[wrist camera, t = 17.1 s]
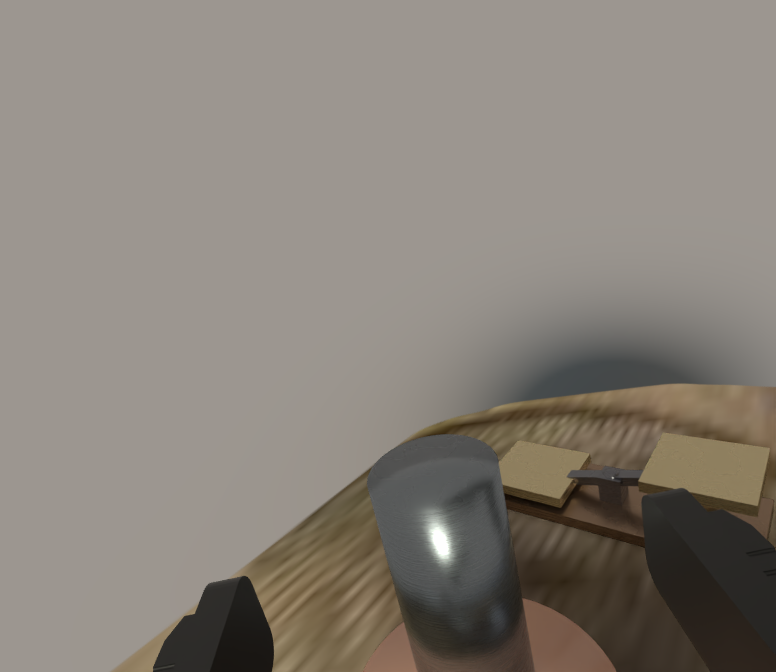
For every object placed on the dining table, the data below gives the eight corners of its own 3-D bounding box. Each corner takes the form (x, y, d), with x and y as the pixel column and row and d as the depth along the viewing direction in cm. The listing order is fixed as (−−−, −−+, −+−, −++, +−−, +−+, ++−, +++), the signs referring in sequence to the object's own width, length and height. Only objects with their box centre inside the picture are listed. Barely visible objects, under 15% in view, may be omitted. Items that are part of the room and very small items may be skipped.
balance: (483, 501, 44) (473, 449, 42) (520, 457, 48) (513, 408, 47) (760, 579, 31) (761, 509, 30) (773, 509, 36) (774, 446, 35)
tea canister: (476, 637, 30) (431, 424, 26) (564, 698, 26) (526, 455, 22) (407, 711, 27) (341, 482, 23) (493, 795, 23) (432, 532, 19)
